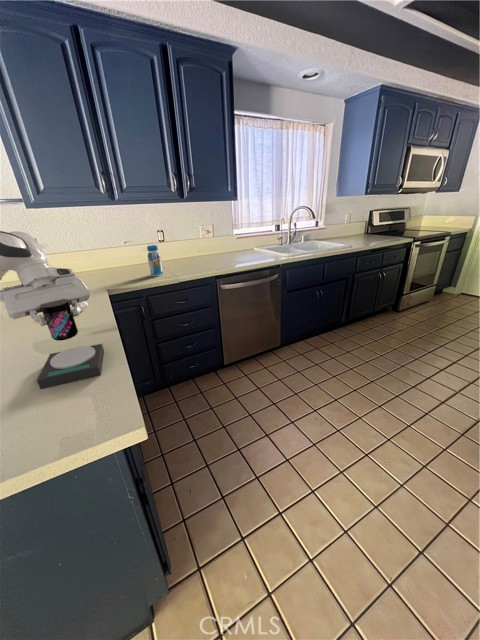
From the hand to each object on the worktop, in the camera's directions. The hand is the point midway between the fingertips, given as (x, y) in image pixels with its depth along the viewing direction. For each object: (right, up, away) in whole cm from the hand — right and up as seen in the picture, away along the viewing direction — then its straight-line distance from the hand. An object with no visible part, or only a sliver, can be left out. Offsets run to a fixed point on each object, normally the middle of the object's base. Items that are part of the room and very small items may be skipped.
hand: (60, 319), depth 75 cm
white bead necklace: (-30, +3, +48) cm, 57 cm away
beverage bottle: (-7, +31, +109) cm, 114 cm away
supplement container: (0, -5, +3) cm, 6 cm away
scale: (+1, -15, +5) cm, 16 cm away
